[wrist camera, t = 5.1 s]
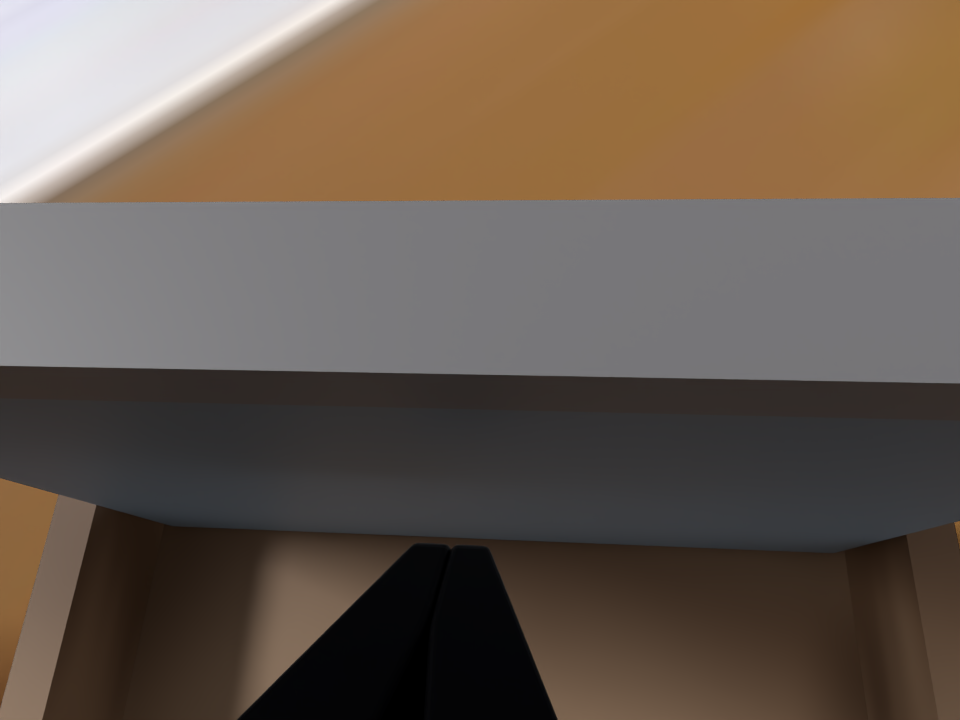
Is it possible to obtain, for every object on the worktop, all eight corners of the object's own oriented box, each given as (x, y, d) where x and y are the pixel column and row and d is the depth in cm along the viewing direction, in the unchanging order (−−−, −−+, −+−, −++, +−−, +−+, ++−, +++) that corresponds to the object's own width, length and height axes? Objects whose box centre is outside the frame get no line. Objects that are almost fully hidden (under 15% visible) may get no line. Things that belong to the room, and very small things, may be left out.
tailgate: (834, 558, 14) (1522, 393, 4) (171, 530, 15) (-481, 356, 5) (824, 487, 14) (1416, 195, 5) (184, 467, 15) (-389, 205, 6)
